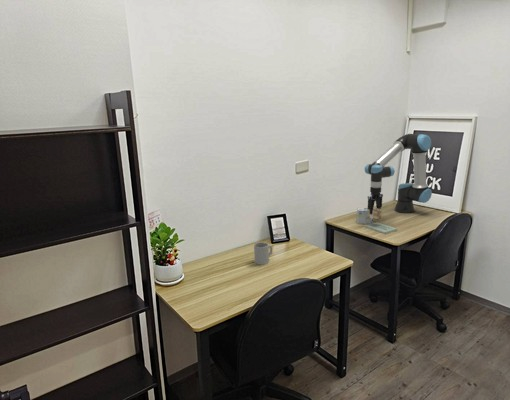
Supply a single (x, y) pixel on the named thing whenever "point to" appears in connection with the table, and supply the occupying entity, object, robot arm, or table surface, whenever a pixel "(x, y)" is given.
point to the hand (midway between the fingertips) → (374, 217)
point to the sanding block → (375, 214)
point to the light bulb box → (363, 216)
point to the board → (380, 228)
